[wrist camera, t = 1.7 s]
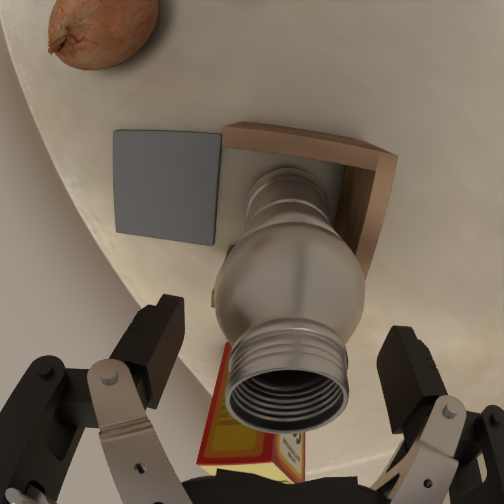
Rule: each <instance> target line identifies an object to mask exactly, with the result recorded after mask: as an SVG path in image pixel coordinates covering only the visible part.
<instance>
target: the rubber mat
mask: <svg viewBox="0 0 504 504" xmlns="http://www.w3.org/2000/svg"><path fill="white" fill-rule="evenodd" d="M222 136H223V134H217V133H204V132H187V131H164V130H115V131H113V189H114V209H115V224H116V232H117V233H124V234H131V235H138V236H145V237H152V238H159V239H166V240H173V241H180V242H186V243H193V244H200V245H207V246H213V245H214V243H215V228H216V213H217V199H218V185H219V173H220V161H221V149H222Z"/></svg>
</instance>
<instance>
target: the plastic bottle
mask: <svg viewBox="0 0 504 504" xmlns="http://www.w3.org/2000/svg"><path fill="white" fill-rule="evenodd" d="M245 219H246V229H245V231H244V233H243V235H242V237H241V238H240V240H239V241H238V242H237V244H236V245H235V246H234V248H233V249H232V250H231V252H230V253H229V254H228V256H227V257H226V259H225V261H224V263H223V265H222V267H221V269H220V271H219V273H218V275H217V278H216V282H215V287H214V303H215V311H216V316H217V320H218V323H219V326H220V328H221V330H222V332H223V333H224V335H225V337H226V338H227V340H228V341H229V343H230V345H231V346H232V351H231V354H230V359H229V363H228V372H229V377H228V382H227V386H226V390H225V405H226V408H227V410H228V412H229V413H230V414H231V416H232V417H233V418H235V419H236V420H237V421H238V422H240V423H241V424H243V425H245V426H247V427H249V428H252V429H255V430H258V431H262V432H267V433H274V434H295V433H301V432H307V431H310V430H314V429H317V428H320V427H322V426H324V425H326V424H328V423H330V422H331V421H333V420H334V419H336V418H337V417H338V416H339V415H340V414H341V413H342V412H343V411H344V409H345V407H346V405H347V403H348V397H349V386H348V378H347V369H348V356H347V351H346V346H345V344H346V343H347V341H348V340H349V338H350V337H351V335H352V334H353V332H354V331H355V329H356V327H357V325H358V324H359V322H360V319H361V316H362V313H363V309H364V300H365V279H364V274H363V271H362V268H361V266H360V264H359V262H358V260H357V258H356V257H355V255H354V254H353V252H352V250H351V249H350V248H349V247H348V245H347V244H346V243H345V242H344V241H343V240H342V239H341V237H340V236H339V235H338V234H337V233H336V232H335V231H334V230H333V228H332V226H331V224H330V222H329V200H328V196H327V193H326V191H325V189H324V187H323V185H322V184H321V183H320V182H319V181H318V179H316V178H315V177H314V176H313V175H311V174H309V173H307V172H305V171H303V170H299V169H295V168H281V169H277V170H274V171H271V172H269V173H267V174H266V175H264V176H262V177H261V178H260V179H259V180H258V181H257V182H256V183H255V184H254V185H253V187H252V188H251V190H250V192H249V194H248V196H247V200H246V204H245Z"/></svg>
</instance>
